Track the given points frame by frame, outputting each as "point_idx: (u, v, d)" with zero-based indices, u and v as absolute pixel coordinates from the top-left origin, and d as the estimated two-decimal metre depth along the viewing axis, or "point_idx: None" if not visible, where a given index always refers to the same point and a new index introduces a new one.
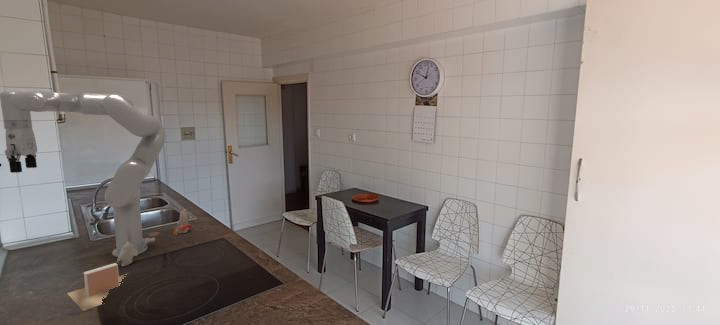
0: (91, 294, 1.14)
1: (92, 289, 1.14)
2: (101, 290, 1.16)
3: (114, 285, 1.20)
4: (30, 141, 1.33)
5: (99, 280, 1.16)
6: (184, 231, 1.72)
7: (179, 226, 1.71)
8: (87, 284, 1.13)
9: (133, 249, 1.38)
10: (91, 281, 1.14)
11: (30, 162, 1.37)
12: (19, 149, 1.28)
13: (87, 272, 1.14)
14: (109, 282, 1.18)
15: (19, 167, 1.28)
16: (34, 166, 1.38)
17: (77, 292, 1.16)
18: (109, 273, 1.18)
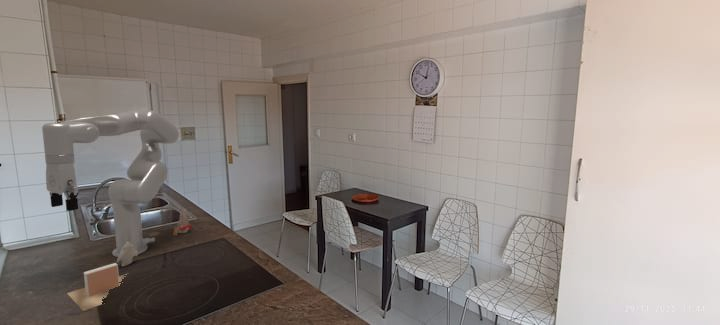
0: (91, 294, 1.14)
1: (92, 289, 1.14)
2: (101, 290, 1.16)
3: (114, 285, 1.20)
4: (52, 179, 1.17)
5: (99, 280, 1.16)
6: (184, 231, 1.72)
7: (179, 226, 1.71)
8: (87, 284, 1.13)
9: (133, 249, 1.38)
10: (91, 281, 1.14)
11: None
12: None
13: (87, 272, 1.14)
14: (109, 282, 1.18)
15: None
16: None
17: (77, 292, 1.16)
18: (109, 273, 1.18)
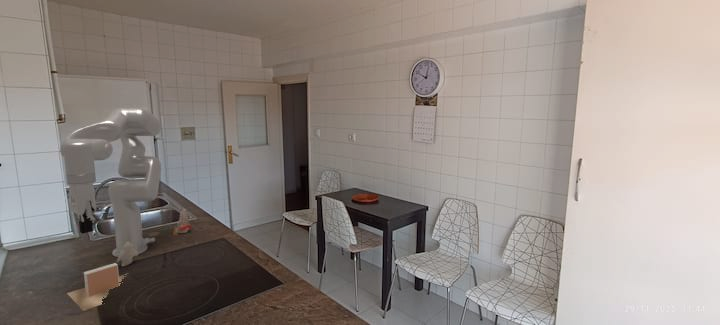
0: (91, 294, 1.14)
1: (92, 289, 1.14)
2: (101, 290, 1.16)
3: (114, 285, 1.20)
4: (73, 199, 1.13)
5: (99, 280, 1.16)
6: (184, 231, 1.72)
7: (179, 226, 1.71)
8: (87, 284, 1.13)
9: (133, 249, 1.38)
10: (91, 281, 1.14)
11: None
12: None
13: (87, 272, 1.14)
14: (109, 282, 1.18)
15: None
16: None
17: (77, 292, 1.16)
18: (109, 273, 1.18)
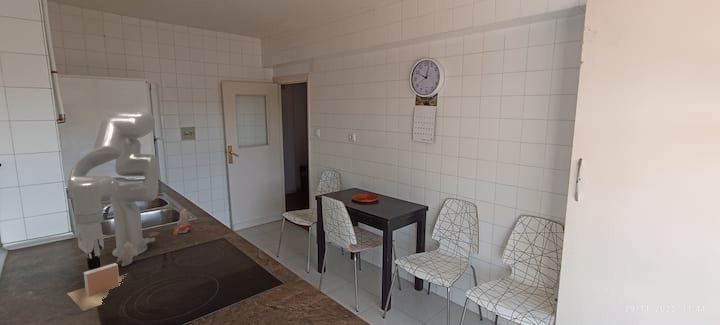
0: (91, 294, 1.14)
1: (92, 289, 1.14)
2: (101, 290, 1.16)
3: (114, 285, 1.20)
4: (81, 237, 1.16)
5: (99, 280, 1.16)
6: (184, 231, 1.72)
7: (179, 226, 1.71)
8: (87, 284, 1.13)
9: (133, 249, 1.38)
10: (91, 281, 1.14)
11: None
12: None
13: (87, 272, 1.14)
14: (109, 282, 1.18)
15: None
16: None
17: (77, 292, 1.16)
18: (109, 273, 1.18)
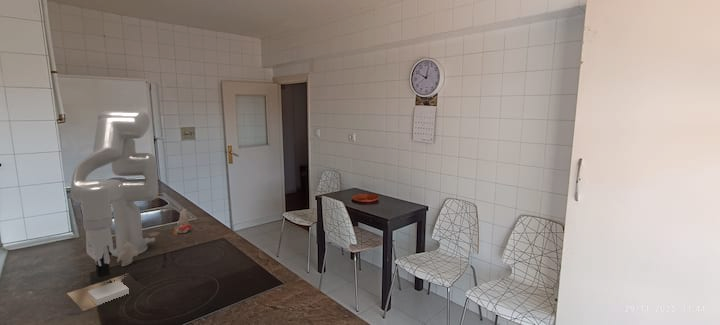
0: None
1: None
2: None
3: None
4: (90, 244, 1.11)
5: None
6: (184, 231, 1.72)
7: (179, 226, 1.71)
8: None
9: (133, 249, 1.38)
10: None
11: None
12: None
13: (99, 301, 1.09)
14: None
15: None
16: None
17: (77, 292, 1.16)
18: None
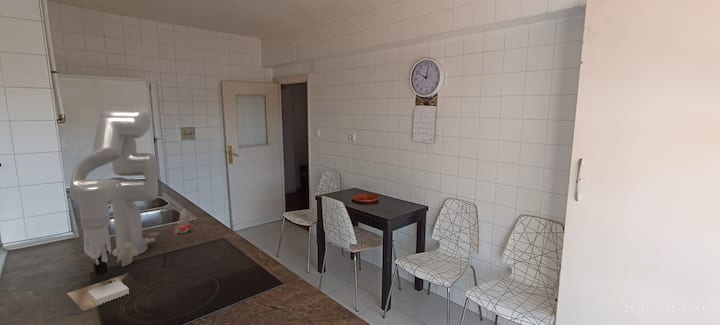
0: None
1: None
2: None
3: None
4: (88, 242, 1.13)
5: None
6: (184, 231, 1.72)
7: (179, 226, 1.71)
8: None
9: (133, 249, 1.38)
10: None
11: None
12: None
13: (99, 301, 1.09)
14: None
15: None
16: None
17: (77, 292, 1.16)
18: None
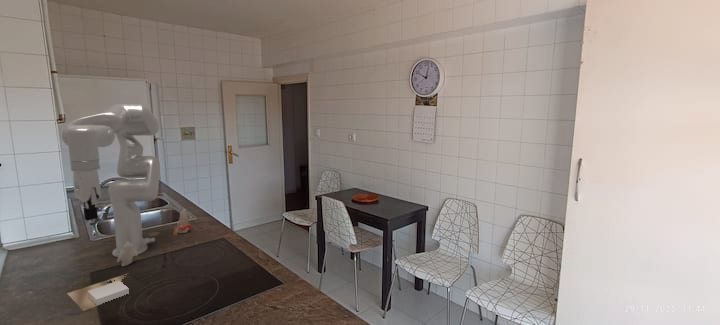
0: None
1: None
2: None
3: None
4: (77, 185, 1.12)
5: None
6: (184, 231, 1.72)
7: (179, 226, 1.71)
8: None
9: (133, 249, 1.38)
10: None
11: None
12: None
13: (99, 301, 1.09)
14: None
15: None
16: None
17: (77, 292, 1.16)
18: None
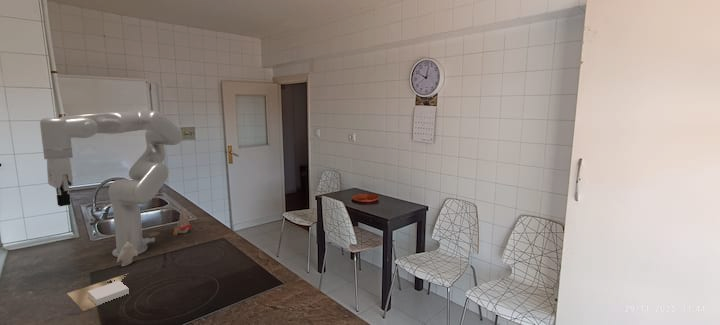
0: None
1: None
2: None
3: None
4: (50, 173, 1.19)
5: None
6: (184, 231, 1.72)
7: (179, 226, 1.71)
8: None
9: (133, 249, 1.38)
10: None
11: None
12: None
13: (99, 301, 1.09)
14: None
15: None
16: None
17: (77, 292, 1.16)
18: None
